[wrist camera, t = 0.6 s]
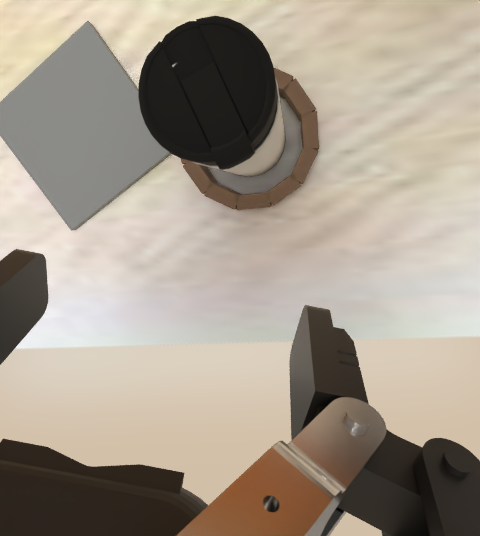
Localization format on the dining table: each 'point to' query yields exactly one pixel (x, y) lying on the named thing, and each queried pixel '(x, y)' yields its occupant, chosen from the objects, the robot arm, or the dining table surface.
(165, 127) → the travel mug
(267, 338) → the dining table surface
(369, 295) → the dining table surface
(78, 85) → the slate mat
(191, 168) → the ring
